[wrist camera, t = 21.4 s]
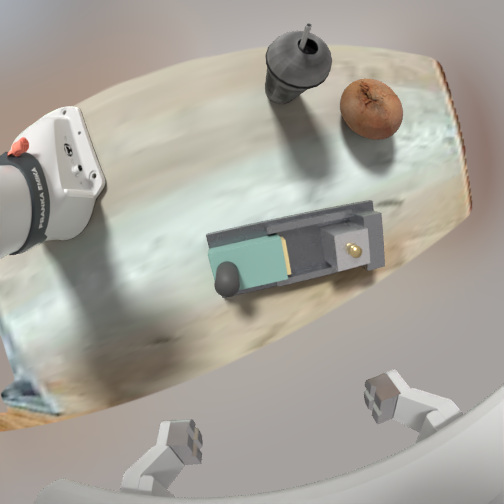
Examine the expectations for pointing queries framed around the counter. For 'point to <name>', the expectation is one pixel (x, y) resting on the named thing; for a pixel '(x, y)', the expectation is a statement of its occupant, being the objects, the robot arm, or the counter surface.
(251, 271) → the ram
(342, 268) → the housing
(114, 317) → the counter surface
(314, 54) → the beverage cup
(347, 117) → the onion
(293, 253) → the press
